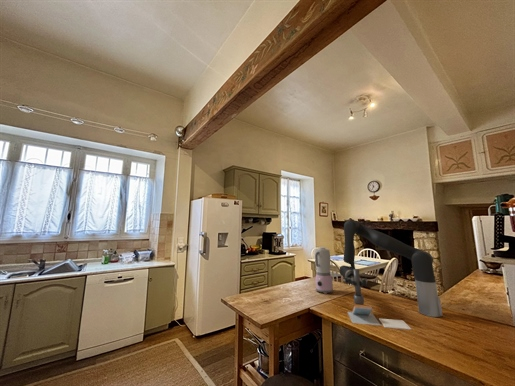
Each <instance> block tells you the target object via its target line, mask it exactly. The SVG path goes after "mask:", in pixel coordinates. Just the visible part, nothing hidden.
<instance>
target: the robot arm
mask: <svg viewBox="0 0 515 386" xmlns="http://www.w3.org/2000/svg"><path fill="white" fill-rule="evenodd" d="M343 230H344V231H343V232H344V233H343V234H344V248H343V249H344V250H343V251H344V252H343V262H344V263H346V264H349V266H348V265H341V266H340V267H339V273H340V275H341V276H342V277H343V278H342V279H343V282H344V283H345V284H347V285H352V286H354V287H355V286H356V282H355V281H354V271H353V269H356V266H355V256H356V248H355V235H358V236H360V237H364V239H366V240H368V242H370V243H372V244H373V245H374V246H377V248H380V249H382V250H385V251H387V252H390V253H393V254H396V255H399V256H403V257H405V258H406V259H408V260H409V261H411V265H412V266H411V268H412V274H413V276H414V282H415V291H416V299H417V307H418V309H417V310H418V312H419V313H420V314H422V315H424V316H427V317H434V318H439V317H443V310H442V304H441V297H440V296H438V295H439V294H438V288H437V287H438V286H437V280H436V276H435V272H434V266H433V265H434V257H433V256H432V255H431V253H429V252H427V251H425V250H422V249H419V248H417V247H415V246H414V247H413V246H410V245H408V244H406V243H404V242H402V241H400V240H398V239H396V238H394V237H392V236H390V235H388V234H386V233H383V232H380V231H379V230H376V229H373V228H370V227H368V226H366V225H364V224H362V223H361V222H359V221H357V220H353V219H352V220H346V221H345V222H344V224H343ZM367 284H368V278H367V277H365V278H362V277H360V285H361V288H363V287H364V286H367Z"/></svg>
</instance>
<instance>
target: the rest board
mask: <svg viewBox="0 0 515 386" xmlns="http://www.w3.org/2000/svg"><path fill="white" fill-rule="evenodd" d="M378 321H379V323H380V324H381V325H382V326H383V327H384V328H385V329H397V330H406V331H407V330H409V331H412V328H411V327H410V326H409V325H408V324H407V323H406V322H405V321H404V320H402V319H390V318H389V319H387V318H378Z"/></svg>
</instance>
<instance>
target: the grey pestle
mask: <svg viewBox="0 0 515 386" xmlns="http://www.w3.org/2000/svg"><path fill="white" fill-rule="evenodd" d="M353 271H354V281H355V282H356V286H354V291H355V292H354V293H355V294H353V303H354V304H355V305H358V306H364V305H365V299H364V295H363V294H362V287H361V285H360V278H361V275H360V274H361V273H360V268H355V269H353Z"/></svg>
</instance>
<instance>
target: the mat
mask: <svg viewBox="0 0 515 386" xmlns="http://www.w3.org/2000/svg"><path fill="white" fill-rule="evenodd" d="M347 315H348V317H349V319H350V320H351V323H352V324H360V325H371V326H372V325H373V326H381V322H380V321H379V319H377V317H376V316H375V314H374V313H370V314H369V315H360V314H353V311H347Z"/></svg>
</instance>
